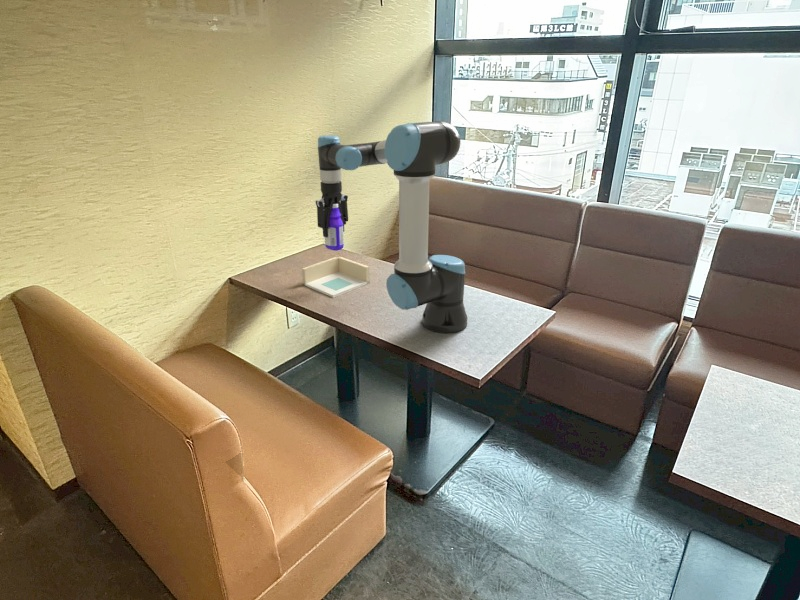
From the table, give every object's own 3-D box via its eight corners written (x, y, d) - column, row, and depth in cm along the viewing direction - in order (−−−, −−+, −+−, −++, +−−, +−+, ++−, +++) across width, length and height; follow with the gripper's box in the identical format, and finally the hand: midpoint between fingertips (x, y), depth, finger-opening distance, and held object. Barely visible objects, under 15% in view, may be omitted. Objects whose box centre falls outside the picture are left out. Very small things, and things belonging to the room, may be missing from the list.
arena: (369, 282, 201) (369, 266, 198) (333, 297, 188) (332, 280, 185) (339, 271, 212) (338, 255, 209) (303, 284, 199) (301, 268, 196)
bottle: (346, 248, 191) (345, 203, 184) (336, 252, 187) (334, 206, 180) (333, 244, 195) (330, 200, 188) (322, 248, 191) (319, 203, 184)
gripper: (343, 175, 189) (346, 235, 199) (303, 183, 176) (308, 246, 186) (357, 178, 184) (359, 239, 194) (317, 186, 172) (321, 251, 182)
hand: (334, 242), depth 190 cm, fingers closed on bottle, 5 cm apart
